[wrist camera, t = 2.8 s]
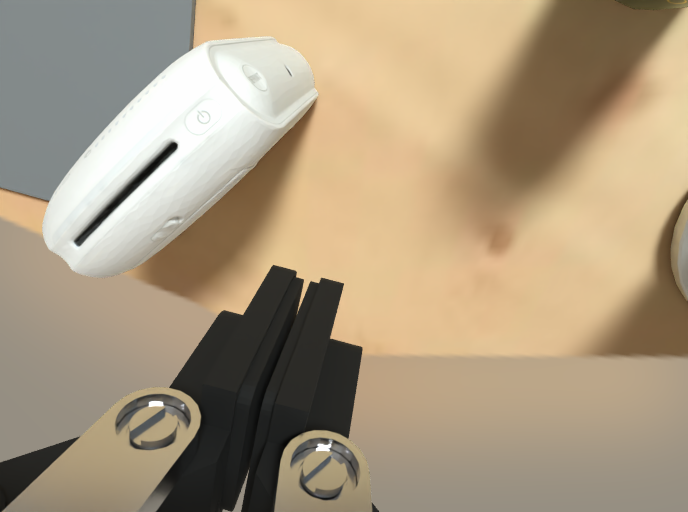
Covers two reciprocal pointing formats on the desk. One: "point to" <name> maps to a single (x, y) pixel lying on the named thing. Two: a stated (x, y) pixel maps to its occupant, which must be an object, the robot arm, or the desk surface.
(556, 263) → the desk surface
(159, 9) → the felt mat
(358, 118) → the desk surface
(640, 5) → the beer can
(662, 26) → the desk surface
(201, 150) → the photo printer
